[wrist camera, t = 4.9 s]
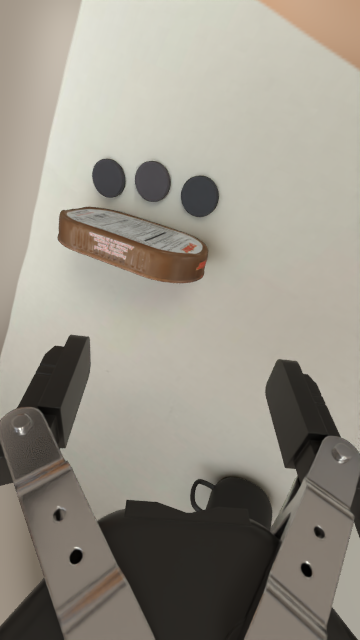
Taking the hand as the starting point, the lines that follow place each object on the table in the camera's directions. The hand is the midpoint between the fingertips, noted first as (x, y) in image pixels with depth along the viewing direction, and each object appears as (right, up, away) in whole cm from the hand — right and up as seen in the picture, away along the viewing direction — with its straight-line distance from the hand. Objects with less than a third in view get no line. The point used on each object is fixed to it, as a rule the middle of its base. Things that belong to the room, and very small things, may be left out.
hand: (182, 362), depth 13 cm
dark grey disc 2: (-3, +15, +17) cm, 23 cm away
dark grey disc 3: (+2, +14, +16) cm, 21 cm away
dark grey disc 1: (-7, +16, +19) cm, 26 cm away
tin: (-3, +11, +20) cm, 23 cm away
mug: (+8, -24, +34) cm, 43 cm away
